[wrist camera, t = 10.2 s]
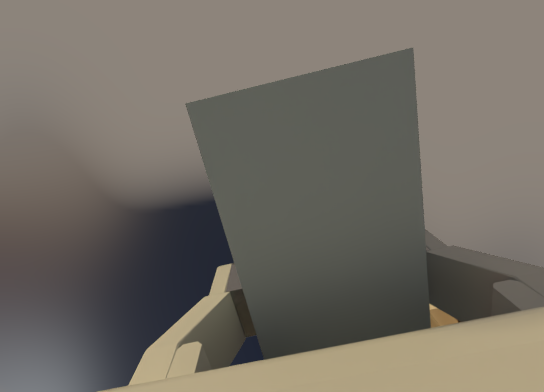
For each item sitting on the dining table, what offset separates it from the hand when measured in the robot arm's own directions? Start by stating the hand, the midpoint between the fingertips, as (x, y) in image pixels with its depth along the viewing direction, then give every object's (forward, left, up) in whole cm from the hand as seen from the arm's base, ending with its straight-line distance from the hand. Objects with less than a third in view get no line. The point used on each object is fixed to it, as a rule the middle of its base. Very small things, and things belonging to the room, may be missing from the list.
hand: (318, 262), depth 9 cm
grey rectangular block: (0, 0, -8) cm, 8 cm away
